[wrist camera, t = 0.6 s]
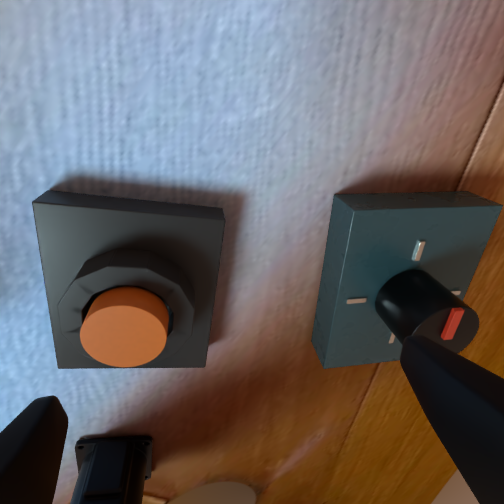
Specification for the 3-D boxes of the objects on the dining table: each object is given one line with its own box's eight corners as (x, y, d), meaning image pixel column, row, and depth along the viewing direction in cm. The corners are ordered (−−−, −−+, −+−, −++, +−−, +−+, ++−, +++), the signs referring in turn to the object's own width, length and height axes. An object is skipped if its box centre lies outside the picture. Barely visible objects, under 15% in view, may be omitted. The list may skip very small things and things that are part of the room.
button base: (204, 348, 25) (206, 390, 22) (68, 347, 23) (45, 394, 20) (222, 207, 20) (228, 234, 16) (47, 189, 18) (11, 215, 14)
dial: (424, 318, 23) (467, 363, 20) (368, 323, 23) (403, 371, 19) (442, 267, 21) (495, 307, 17) (382, 271, 20) (424, 313, 17)
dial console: (416, 330, 28) (440, 357, 26) (310, 341, 27) (324, 370, 24) (467, 190, 22) (506, 206, 19) (333, 194, 21) (355, 211, 18)
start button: (167, 345, 20) (165, 367, 18) (91, 345, 19) (82, 368, 17) (170, 288, 18) (168, 306, 16) (86, 283, 17) (76, 303, 15)
